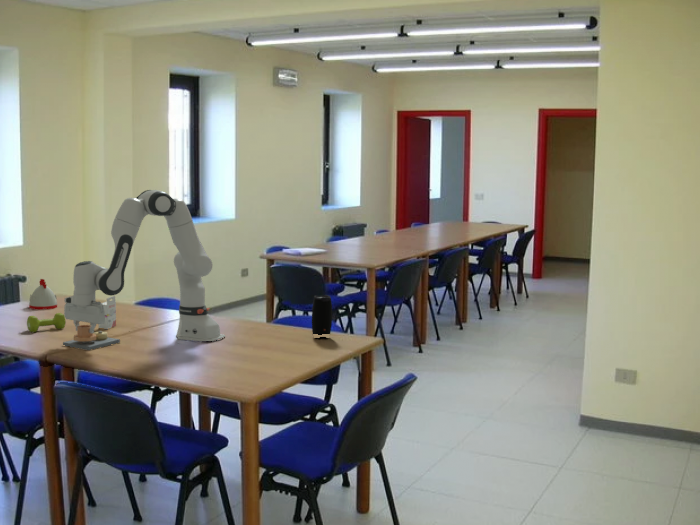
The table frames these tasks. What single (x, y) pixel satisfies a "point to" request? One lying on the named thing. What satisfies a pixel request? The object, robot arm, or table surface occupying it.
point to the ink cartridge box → (109, 313)
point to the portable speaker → (322, 315)
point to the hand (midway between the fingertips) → (84, 331)
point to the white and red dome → (43, 297)
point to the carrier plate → (93, 342)
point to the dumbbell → (46, 322)
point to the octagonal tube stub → (84, 333)
